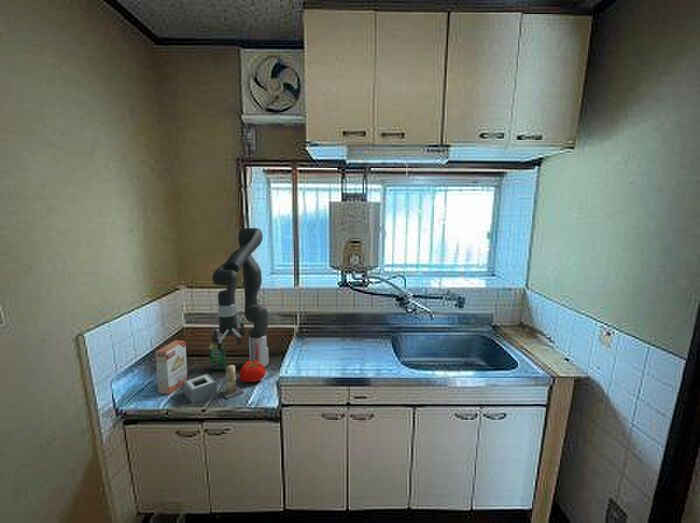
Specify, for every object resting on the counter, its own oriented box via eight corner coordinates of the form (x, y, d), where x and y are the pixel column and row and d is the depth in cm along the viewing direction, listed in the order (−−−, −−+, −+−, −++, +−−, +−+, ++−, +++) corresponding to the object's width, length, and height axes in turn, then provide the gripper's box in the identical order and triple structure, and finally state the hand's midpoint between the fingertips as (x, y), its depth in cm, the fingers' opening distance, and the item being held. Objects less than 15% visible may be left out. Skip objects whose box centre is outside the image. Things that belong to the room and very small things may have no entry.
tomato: (258, 388, 159) (257, 371, 157) (234, 385, 161) (233, 368, 160) (270, 374, 172) (270, 358, 171) (248, 372, 175) (248, 356, 173)
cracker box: (170, 395, 152) (166, 352, 149) (158, 394, 153) (154, 351, 150) (188, 379, 166) (185, 340, 163) (177, 378, 167) (174, 339, 164)
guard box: (207, 384, 161) (207, 373, 161) (217, 394, 154) (216, 382, 153) (183, 393, 154) (183, 381, 153) (192, 403, 146) (191, 390, 145)
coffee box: (209, 369, 177) (208, 346, 175) (211, 366, 180) (210, 344, 178) (224, 369, 177) (223, 346, 175) (226, 367, 180) (225, 344, 177)
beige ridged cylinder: (233, 387, 158) (232, 364, 156) (237, 391, 155) (236, 367, 153) (225, 390, 155) (224, 366, 153) (229, 394, 152) (228, 370, 150)
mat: (236, 386, 160) (236, 384, 160) (243, 392, 155) (243, 391, 155) (219, 392, 155) (219, 390, 155) (227, 399, 149) (227, 397, 149)
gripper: (238, 308, 157) (240, 340, 159) (208, 315, 147) (210, 349, 149) (246, 312, 151) (247, 345, 154) (214, 319, 141) (217, 354, 144)
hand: (229, 347), depth 152 cm, fingers open, 8 cm apart
